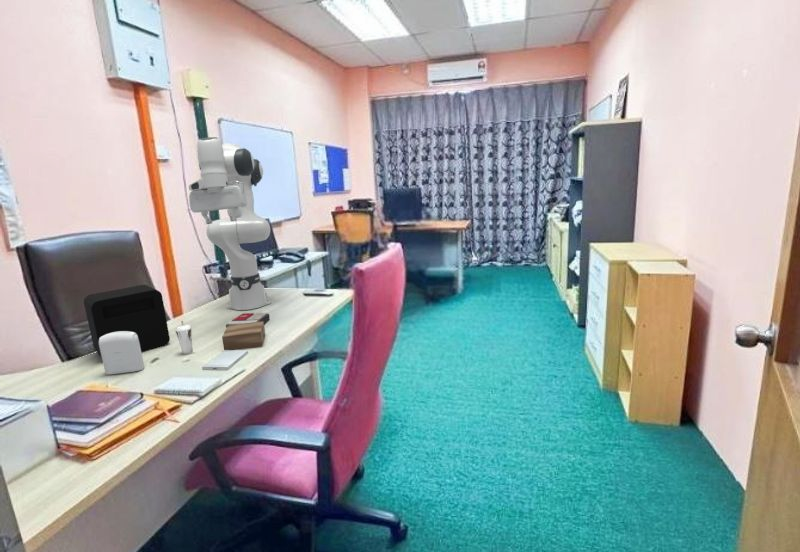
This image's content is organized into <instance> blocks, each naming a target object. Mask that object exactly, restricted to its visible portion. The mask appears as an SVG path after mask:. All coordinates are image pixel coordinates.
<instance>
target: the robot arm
mask: <svg viewBox="0 0 800 552" xmlns="http://www.w3.org/2000/svg"><path fill="white" fill-rule="evenodd" d="M196 143H197V144H196V148H197V150H196V152H197V161H198V167H199V170H200V178H199V179H198V180H195V181H194V182H192V183H190V184H189V185H188V189H189V191H190V193H189V195H188V200H189V209H190V210H191V211H192V213H201V216H202V217H203V219H204V221H205V224H206V225H207V227H206V236H207V238H208V240H209V241H210V243H212V244H213V245H215V246H217V247H218V248H220V249H221V250H222V252H224V254H225V256H226V257H227V260H228V264H229V267H230V282H231V283H230V284H231V287H230V288H229V289H228V293H229V295H228V296H229V303H228V304H227V305H226V309H229V310H230V309H231V310H235V311H245V310H246V311H247V310H254V309H257V308H261V307H263V306H267V305H271V304H272V302H271V299H270V298H269V295H268V294H267V292H265V286H264V284H262V282H261V275H260V273H259V270H258V263H257V257H256V255H255V254H253V253H252V252H251V251H248V250H245V249H243V248H242V247H241V246H240V244H241V245H242V244H249V243H250V244H252V243H258V242H259V243H260V242H262V241H266V240H267V239H268V238H269V237H270V235H271V226H270V225H271V224H270V223H269V222H268V220H267V219H266V218H265V217H262V216H260V215H258V214H256V213H255V207H254V206H255V204H254V203H255V199H254V194H253V190H252V188H253V186H254V187H257V186H258V185H257V184H259V183H260V181H261V180H262V179H263V175H264V168H263V165H262V163H261V161H259V160H258V159H256V158H254V157H253V155H252V153H251V151H250V150H248V149H247V148H245V147H241V146H240V145H239V144H237V143H233V142H226V143H222V140H221V139H220V138H218V137H217V136H215V137H214V136H213V137H210V136H209V137H202V138H201V137H200V138H199V139H197V142H196ZM220 210H226V212H227V215H228V217H229V218H221V219H220V218H219V219H216V220H213V218H210V217H209V216H208V215H209V212H213V211H214V212H215V211H220Z"/></svg>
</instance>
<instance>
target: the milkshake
mask: <svg viewBox="0 0 800 552" xmlns="http://www.w3.org/2000/svg"><path fill="white" fill-rule="evenodd" d="M175 333H176V336H177V340H178V342H179V346H180V350H181V354H182V355H188V354H191V353H193V352H194V348H193V337H192V335H193V334H192V326H191V325H190V324H186V325H184V321H183V320H181V325H180V326H177V328H176V329H175Z"/></svg>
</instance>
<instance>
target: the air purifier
mask: <svg viewBox="0 0 800 552" xmlns="http://www.w3.org/2000/svg"><path fill="white" fill-rule="evenodd" d="M83 305H84V306H83V307H84V309H85V314H86V319H87V324H88V327H89V332H90V336H91V342H92V345H93V349H94V350H95V351H96V353H98V355H99V356H100V357H101V358H102V356H101V352H100V347H99V338H100V337H101V336H103V335H106V334H109V333H112V332H118V331H129V332H135V333H136V334H137V335H138V339H139V344H140V348H141V353H143V352H144V353H145V352H148V351H151V350H155V349H158V348H162V347H165V346H167V345H168V344H169V343H170V340H171V339H170V332H169V327H168V322H167V316H166V310H165V309H166V308H165V306H164V299H163V294H162V292H161V291H160V290H158V289H155V288H153V287H151V286H149V285H146V284H140V285H136V286H130V287H124V288H119V289H112V290H107V291H102V292H97V293H92V294H88V295H86V296H85V297H84V300H83Z"/></svg>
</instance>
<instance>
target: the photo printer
mask: <svg viewBox="0 0 800 552" xmlns="http://www.w3.org/2000/svg"><path fill="white" fill-rule="evenodd" d="M99 347H100V352H101V356H102V357H101V356H100V357H101V361H102V363H103V370H104V372H105V375H107V376H108V375H110V376H111V375H118V374H126V373H131V372H132V373H133V372H139V371H142V370H143V369H145V362H144V359H143V352H141V348H140V344H139V339H138V335H137V334H136V333H135V332H129V331H118V332H112V333H109V334H106V335H103V336H101V337H100V338H99Z"/></svg>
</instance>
